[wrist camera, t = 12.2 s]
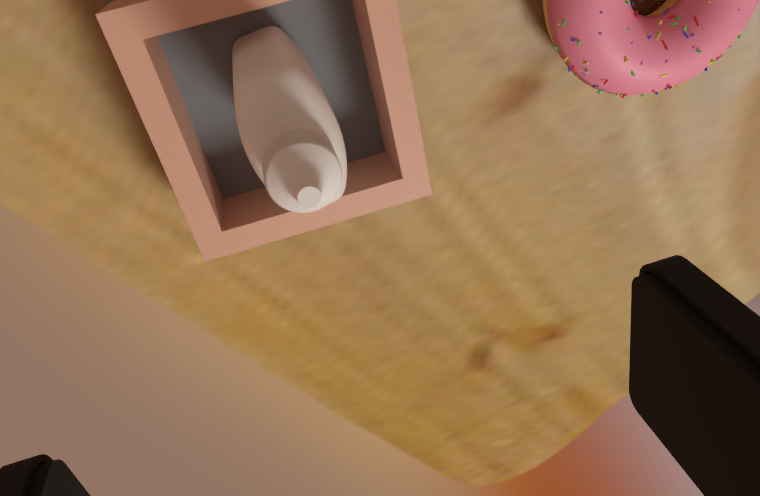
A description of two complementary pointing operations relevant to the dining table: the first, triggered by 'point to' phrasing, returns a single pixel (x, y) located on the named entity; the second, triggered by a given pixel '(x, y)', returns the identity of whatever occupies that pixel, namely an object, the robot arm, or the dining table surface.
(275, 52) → the squeeze bottle
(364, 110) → the socket stand
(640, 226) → the dining table surface
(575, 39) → the doughnut
